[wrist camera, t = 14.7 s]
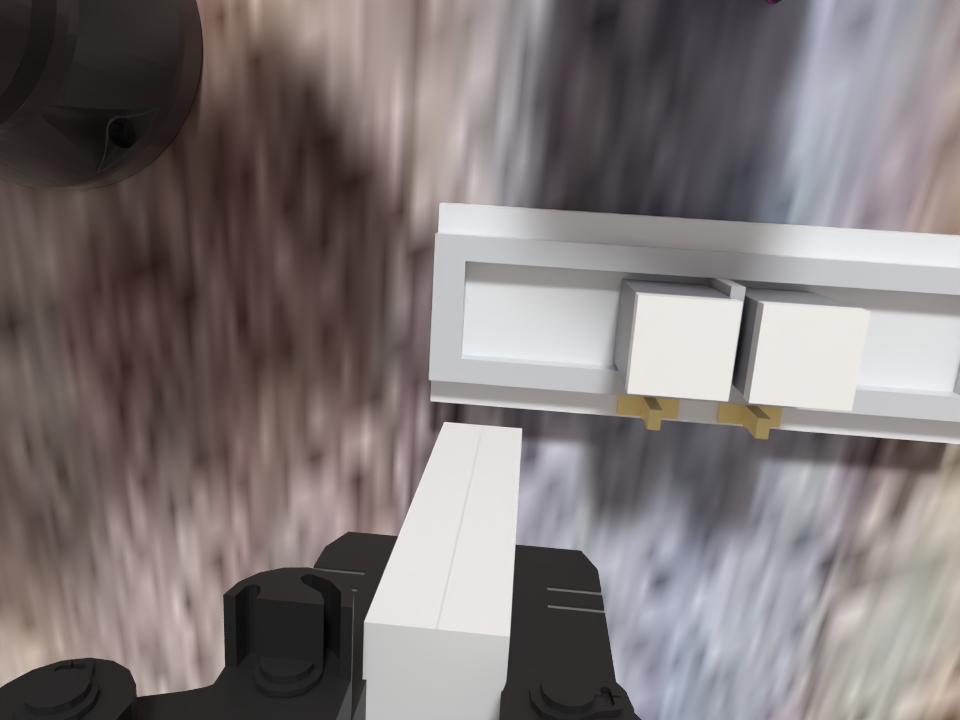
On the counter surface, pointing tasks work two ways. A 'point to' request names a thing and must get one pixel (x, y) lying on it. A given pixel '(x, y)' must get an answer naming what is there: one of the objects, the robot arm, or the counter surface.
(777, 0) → the candy bar box
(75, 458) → the counter surface
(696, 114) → the counter surface
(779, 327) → the right tab
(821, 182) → the counter surface
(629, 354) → the left tab
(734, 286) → the switch bank
